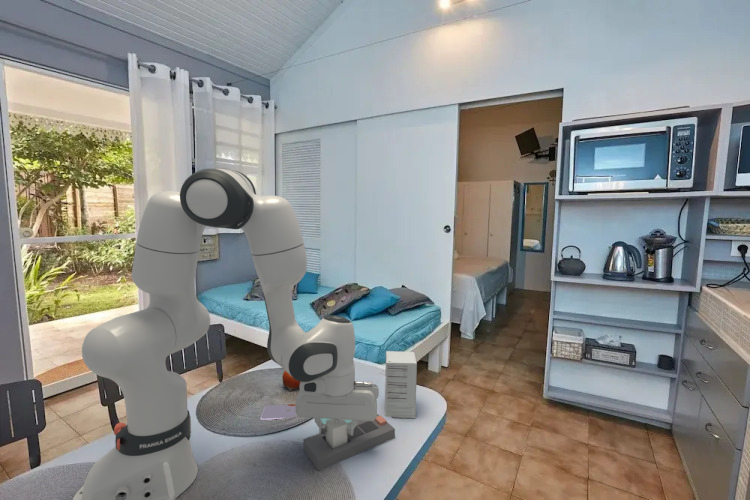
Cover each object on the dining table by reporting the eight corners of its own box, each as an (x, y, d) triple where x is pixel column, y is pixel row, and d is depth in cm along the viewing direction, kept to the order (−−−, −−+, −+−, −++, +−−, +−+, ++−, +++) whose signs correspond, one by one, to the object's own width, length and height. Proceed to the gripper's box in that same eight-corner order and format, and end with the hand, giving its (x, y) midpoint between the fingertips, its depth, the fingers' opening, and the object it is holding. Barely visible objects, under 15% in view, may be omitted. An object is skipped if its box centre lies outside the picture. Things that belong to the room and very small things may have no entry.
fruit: (272, 385, 116) (282, 362, 118) (288, 389, 121) (297, 366, 124) (288, 393, 111) (298, 368, 114) (304, 396, 117) (312, 372, 120)
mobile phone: (264, 404, 105) (314, 402, 107) (264, 407, 106) (314, 405, 107) (259, 418, 98) (312, 416, 100) (259, 421, 98) (312, 419, 100)
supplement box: (416, 419, 100) (417, 363, 99) (384, 418, 100) (385, 362, 99) (413, 401, 110) (414, 351, 108) (384, 400, 110) (385, 350, 108)
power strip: (318, 472, 78) (318, 457, 78) (303, 450, 86) (303, 436, 85) (394, 439, 91) (394, 425, 90) (375, 422, 98) (375, 409, 98)
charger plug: (333, 456, 83) (333, 425, 82) (325, 447, 87) (325, 417, 86) (347, 450, 85) (347, 419, 85) (339, 441, 89) (339, 412, 88)
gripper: (379, 376, 87) (378, 428, 88) (300, 372, 88) (300, 423, 89) (378, 388, 80) (377, 444, 82) (293, 384, 82) (293, 438, 83)
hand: (336, 433), depth 86 cm, fingers closed on charger plug, 6 cm apart
